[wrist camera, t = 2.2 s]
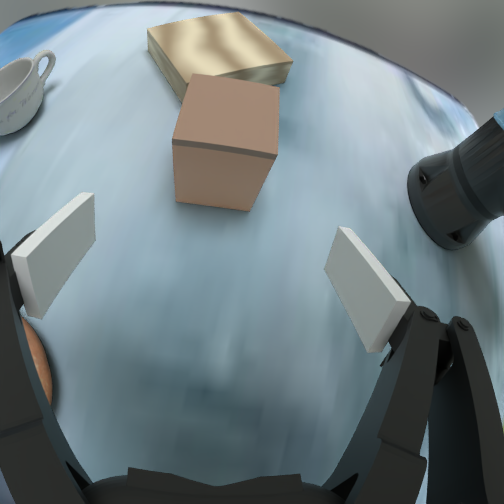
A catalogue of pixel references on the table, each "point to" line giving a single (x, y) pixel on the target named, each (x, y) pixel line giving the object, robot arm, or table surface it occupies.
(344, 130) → the table surface
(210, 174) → the pink square box
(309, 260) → the table surface
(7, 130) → the teacup
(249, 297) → the table surface
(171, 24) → the birch box
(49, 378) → the ceramic jug
